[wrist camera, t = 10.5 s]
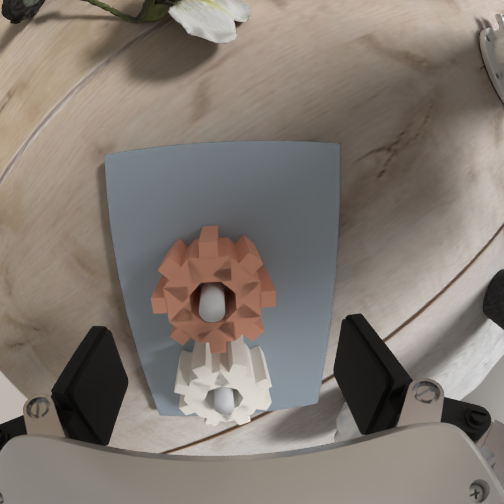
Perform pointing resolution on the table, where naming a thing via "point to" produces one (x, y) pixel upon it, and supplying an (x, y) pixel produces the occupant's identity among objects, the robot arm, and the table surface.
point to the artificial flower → (156, 7)
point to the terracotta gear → (213, 270)
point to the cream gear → (223, 381)
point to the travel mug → (495, 300)
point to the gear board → (234, 226)
